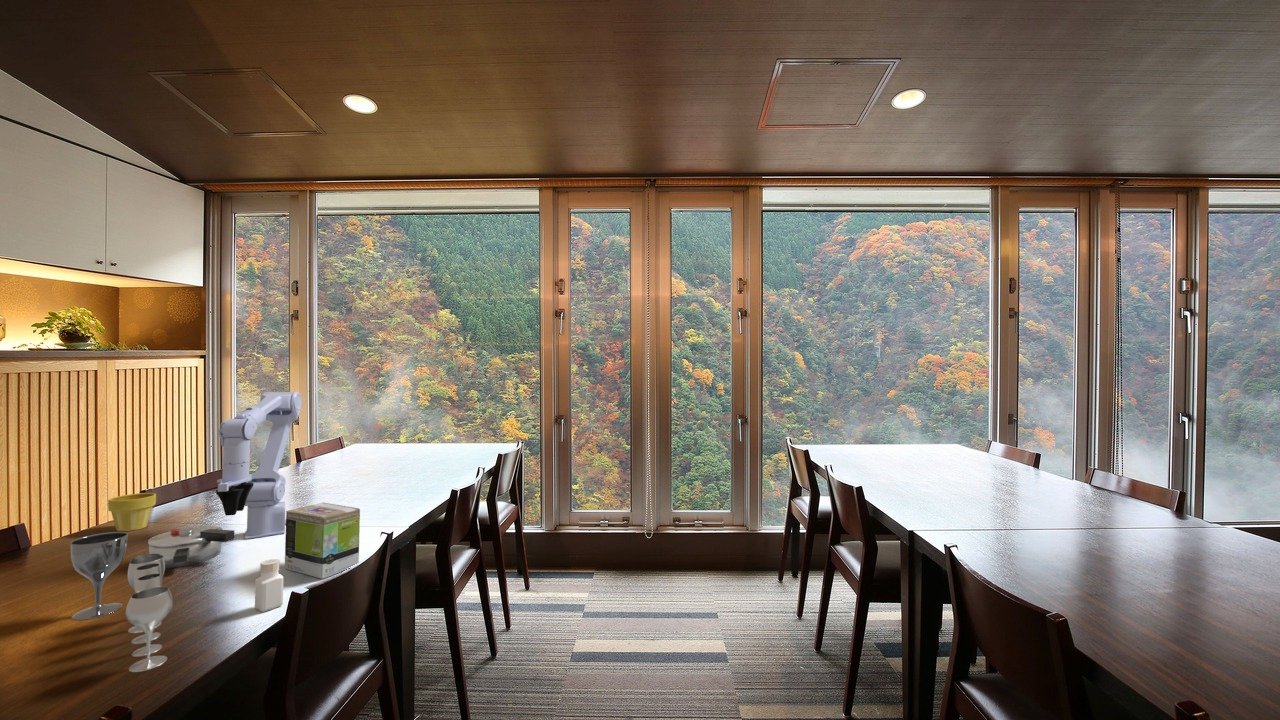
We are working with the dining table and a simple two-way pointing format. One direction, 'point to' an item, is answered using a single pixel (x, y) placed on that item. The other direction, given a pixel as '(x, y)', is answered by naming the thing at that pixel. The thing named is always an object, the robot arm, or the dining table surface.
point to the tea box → (322, 539)
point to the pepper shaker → (269, 586)
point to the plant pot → (131, 510)
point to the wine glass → (98, 566)
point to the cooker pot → (187, 553)
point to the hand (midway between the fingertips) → (234, 512)
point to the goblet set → (147, 607)
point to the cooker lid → (191, 536)
